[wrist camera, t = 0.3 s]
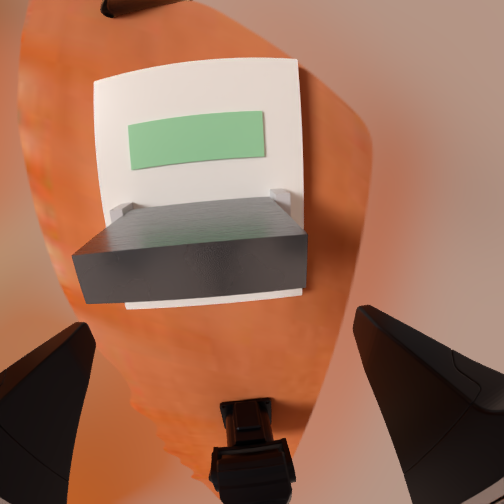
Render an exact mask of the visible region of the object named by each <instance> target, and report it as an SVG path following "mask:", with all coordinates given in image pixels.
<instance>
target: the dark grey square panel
mask: <svg viewBox="0 0 504 504" xmlns="http://www.w3.org/2000/svg"><path fill="white" fill-rule="evenodd" d="M307 243H308V234H307V233H306V232H305V231H304V230H303V229H302V228H301V227H300V226H299V225H298V224H297V223H296V222H295V221H294V220H293V219H292V218H291V217H290V216H289V215H288V214H287V213H286V212H285V211H284V210H283V209H282V208H281V207H280V206H279V205H278V204H277V203H276V202H274V201H273V200H272V199H271V198H270V197H253V198H239V199H226V200H214V201H203V202H193V203H183V204H174V205H165V206H156V207H148V208H140V209H133V210H129V211H128V212H127V213H125V214H124V215H122V216H121V217H120V218H118V219H117V220H116V221H114V222H113V223H112V224H110V225H109V226H108V227H106V228H105V229H104V230H103V231H101V232H100V233H99V234H97V235H96V236H95V237H94V238H92V239H91V240H90V241H89V242H87V243H86V244H85V245H84V246H83V247H81V248H80V249H79V250H78V251H77V252H75V253H74V254H73V255H72V259H73V262H74V266H75V270H76V273H77V276H78V280H79V283H80V286H81V289H82V292H83V295H84V298H85V301H86V304H101V303H127V302H148V301H165V300H180V299H194V298H207V297H220V296H231V295H242V294H252V293H262V292H272V291H281V290H290V289H299V288H306V276H307Z"/></svg>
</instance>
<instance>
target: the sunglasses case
mask: <svg viewBox="0 0 504 504" xmlns="http://www.w3.org/2000/svg"><path fill="white" fill-rule="evenodd" d="M181 1H191V0H102V4H101V9H100V10H101V13H102V14H103V15H105V16H106V17H110V18H114V17H115V16H118V15H122V14H126V13H130V12H133V11H137V10H142V9H146V8H151V7H155V6H160V5H166V4H171V3H176V2H181ZM192 1H193V0H192Z"/></svg>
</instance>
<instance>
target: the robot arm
mask: <svg viewBox="0 0 504 504" xmlns="http://www.w3.org/2000/svg"><path fill="white" fill-rule="evenodd" d="M353 333H354V336H355V340H356V343H357V346H358V350H359V353H360V356H361V360H362V364H363V367H364V370H365V373H366V375H367V378H368V380H369V383H370V385H371V387H372V390H373V392H374V395H375V397H376V400H377V402H378V405H379V407H380V410H381V413H382V415H383V418H384V420H385V423H386V426H387V428H388V431H389V434H390V436H391V439H392V442H393V445H394V448H395V450H396V453H397V456H398V459H399V462H400V465H401V468H402V471H403V473H404V477H405V481H406V484H407V487H408V490H409V493H410V497H411V500H412V503H413V504H504V374H502V373H500V372H498V371H495V370H493V369H491V368H489V367H486V366H484V365H482V364H480V363H478V362H475V361H473V360H471V359H469V358H467V357H466V356H464V355H462V354H460V353H458V352H456V351H454V350H451V349H450V348H449V347H447V346H445V345H443V344H441V343H439V342H437V341H436V340H434V339H432V338H430V337H428V336H426V335H425V334H423V333H421V332H419V331H417V330H416V329H413V328H412V327H410V326H408V325H406V324H404V323H402V322H401V321H399V320H397V319H395V318H393V317H391V316H389V315H388V314H386V313H384V312H382V311H380V310H378V309H376V308H374V307H373V306H371V305H364V306H359V307H358V308H357V310H356V314H355V319H354V324H353ZM95 348H96V342H95V339H94V337H93V335H92V333H91V330H90V328H89V326H88V324H87V323H85V322H76V323H74V324H72V325H71V326H69V327H68V328H66V329H64V330H63V331H61V332H60V333H58V334H57V335H55V336H54V337H52V338H51V339H49V340H48V341H46V342H45V343H43V344H42V345H40V346H39V347H37V348H36V349H34V350H33V351H31V352H30V353H28V354H27V355H26V356H24V357H22V358H21V359H20V360H18V361H17V362H15V363H14V364H13V365H11V366H9V367H8V368H7V369H5V370H4V371H2V372H1V373H0V504H67V493H68V484H69V482H68V481H69V475H70V468H71V461H72V455H73V449H74V443H75V438H76V433H77V428H78V424H79V419H80V415H81V411H82V407H83V403H84V399H85V395H86V391H87V388H88V384H89V379H90V373H91V368H92V363H93V357H94V353H95ZM220 410H221V414H222V418H223V422H224V426H225V429H226V433H227V446H228V447H214V449H213V452H212V462H211V470H210V473H209V481H211V482H212V483H213V485H214V487H215V490H216V491H217V492H219V494H220V500H221V501H222V502H223V503H224V504H289V502H290V500H291V497H292V496H291V495H292V488H291V483H293V482H296V476H295V471H294V466H293V462H292V458H291V455H290V451H289V448H288V445H287V441H286V438H282V439H280V440H275V441H274V439H273V434H272V429H271V399H270V398H265V399H257V400H247V401H237V402H225V403H220Z"/></svg>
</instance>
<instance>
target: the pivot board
mask: <svg viewBox="0 0 504 504" xmlns="http://www.w3.org/2000/svg"><path fill="white" fill-rule="evenodd" d="M94 128H95V145H96V157H97V168H98V177H99V185H100V192H101V199H102V206H103V212H104V218H105V223H106V227H108V226H109V225H110V224H112V223H113V222H114V221H116V220H117V219H118V218H120V217H121V216H122V215H124V214H125V213H127V212H128V211H129V210H133V209H140V208H148V207H156V206H165V205H174V204H183V203H193V202H203V201H214V200H226V199H239V198H253V197H270V198H271V199H272V200H273V201H274V202H276V203H277V204H278V205H279V206H280V207H281V208H282V209H283V210H284V211H285V212H286V213H287V214H288V215H289V216H290V217H291V218H292V219H293V220H294V221H295V222H296V223H297V224H298V225H299V226H300V227H301V228H302V229H303V230H304V181H303V143H302V120H301V101H300V86H299V73H298V61H297V59H286V58H226V59H211V60H200V61H190V62H182V63H175V64H169V65H162V66H157V67H151V68H146V69H141V70H137V71H132V72H128V73H124V74H120V75H116V76H112V77H108V78H105V79H101V80H98V81H95V82H94ZM299 295H302V288H299V289H290V290H281V291H272V292H262V293H252V294H242V295H231V296H220V297H207V298H194V299H180V300H165V301H148V302H127V303H125V306H126V309H147V308H166V307H182V306H197V305H210V304H222V303H233V302H244V301H254V300H264V299H273V298H282V297H291V296H299Z"/></svg>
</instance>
